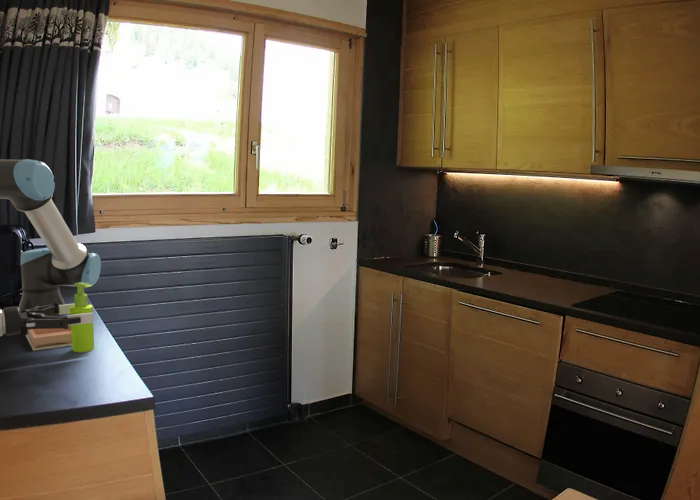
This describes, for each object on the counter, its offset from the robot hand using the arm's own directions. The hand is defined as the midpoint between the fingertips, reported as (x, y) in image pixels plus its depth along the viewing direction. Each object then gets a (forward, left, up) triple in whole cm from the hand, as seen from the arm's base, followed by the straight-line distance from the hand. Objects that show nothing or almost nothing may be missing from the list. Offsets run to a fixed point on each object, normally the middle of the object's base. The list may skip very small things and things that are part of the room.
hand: (88, 312), depth 178 cm
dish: (-15, -6, -11) cm, 20 cm away
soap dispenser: (0, -1, -12) cm, 12 cm away
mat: (-15, -6, -11) cm, 20 cm away
